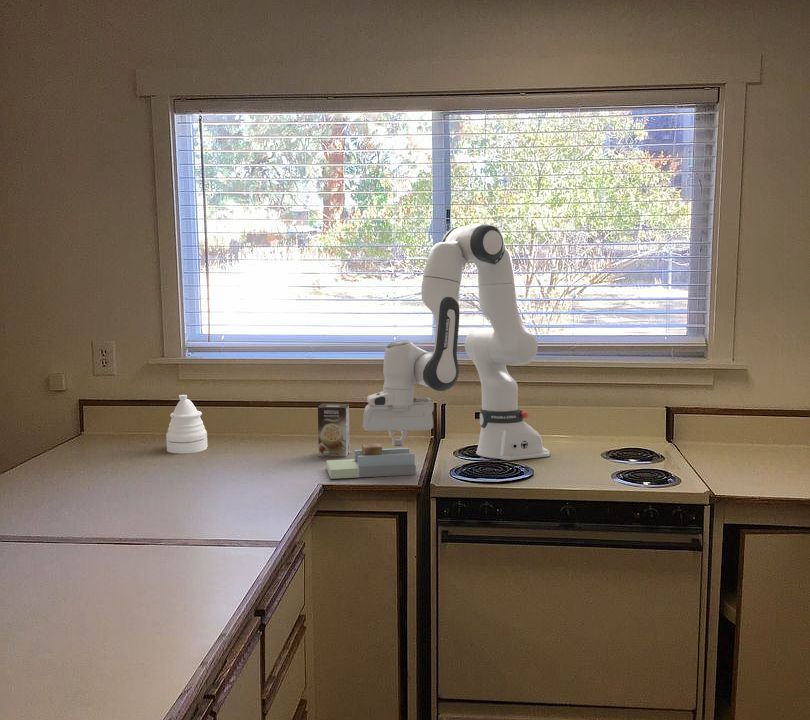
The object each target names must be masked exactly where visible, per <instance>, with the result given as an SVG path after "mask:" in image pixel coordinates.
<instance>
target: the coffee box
mask: <svg viewBox="0 0 810 720" xmlns="http://www.w3.org/2000/svg"><path fill="white" fill-rule="evenodd" d="M317 432H318V434H317V435H318V437H317V440H318V441H317V443H318V444H317V445H318V456H322V457H327V456H345V458H346V456H347V457H348V456H349V454H350V404H349V403H321V404H320V405H319V406H318V407H317ZM348 453H349V454H348Z"/></svg>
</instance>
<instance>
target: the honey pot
mask: <svg viewBox="0 0 810 720" xmlns="http://www.w3.org/2000/svg"><path fill="white" fill-rule="evenodd" d="M178 399H179V401H178V402H177V405H176V406H175V408H174V410H173V411H172V412H171V413H170V414H169V417H171V418H170V422H169V424H168V427H167V432H166V434H165V435H166V436H165V437H166V451H167V453H170V454H193V453H200V452H202V451H206V449H208V448H209V447H208V431H207V430H206V426H205V425H204V422H203V420H202V418H201V416H202V415H203V412H202V411H200V410H198V409H197V407H196V406H195V405H194V403H193V402H192V401H191V400H190V399H188V395H187V394H179V395H178ZM207 447H208V448H207Z"/></svg>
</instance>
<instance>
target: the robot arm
mask: <svg viewBox="0 0 810 720" xmlns="http://www.w3.org/2000/svg"><path fill="white" fill-rule="evenodd" d="M467 264H474V265H475V266H476V269H477V280H478V281H477V283H478V284H477V285H478V298H479V300H478V301H479V309H480V311H481V313H482V314H483V315H484V316H486V318H488V320H489V322H490V324H491V327H481V328H477V329H473V330H470V331H469V333H467V335H466V337H465V340H464V351H465V353H466V355H467V356H468V358H469V359H470V360H471V361H472V362H473V364H474V367H475V368H476V370H477V373H478V376H479V381H480V386H481V408H480V412H479V426H480V433H479V439H478V440H479V441H478V445H477V449H476V453H475V454H476V455H477V456H479V457H484V458H489V459H500V460H504V461H514V460H515V461H516V460H525V459H536V458H547V457H550V455H551V453H550V450H548V449H547V448H545V447H544V446H543V439H542V436H541V434H540V433H539V432H538V431H537V430H535V428H533V427H532V426H531V425H530V424H528V423H527V422H526V421H524V419H527V418H529V417H530V413H529V412H528V411H526V410H521V409H519V407H518V406H519V402H518V401H519V385H518V383H517V381H516V380H515V379H514V378H513V377H512V376H511V375H510V373H509V372H508V369H507V366H515V367H516V366H523V365H528V364H530V363H532V362H533V361H534V360H535V359H536V356H537V354H538V347H539V346H538V342H537V338H536V337H535V335H534V334H533V333H531V332H530V330H529V329H528V328H527V327H526V325H525V324H524V322H523V320H522V318H521V316H520V312H519V309H518V303H517V294H516V293H517V292H516V279H515V278H516V277H515V270H514V263H513V260H512V256H511V252H510V251H509V249H507V248H506V245H505V239H504V237H503V234H502V232H501V231H500V229H499V228H498V227H496V226H494V225H491V224H486V223H485V224H484V223H483V224H468V225H466V226H457V227H454V228H451V229H450V230H448V231H447V232H445V234H444V235H443V237H442V239H441V241H440V242H437V243H435V244H434V245H433V246H432V247H431V249H430V252H429V255H428V257H427V260H426V263H425V267H424V271H423V275H422V276H423V277H422V283H421V291H420V292H421V300H422V302H423V304H424V305H425V306H426V308H428V309H429V310H430V311H431V313H432V314H433V316H434V318H435V322H436V323H435V324H436V326H435V339H434V346H433V347H434V349H433V352H429V351H427V350H425V349H422V348H420V347H418V346H416V345H415V344H414V343H413V341H410V340H399V341H394V342H391V343H388V345H387V346H386V347H385V350H384V355H383V367H382V369H383V371H382V372H383V376H384V382H383V385H382V387H383V388H382V391H379V392H377V393H373V394H369V395H367V397H366V400H367V403H368V404H367V405H365V407H364V409H363V415H362V428H363V429H364V430H365V431H366V432H388V434H389V435H388V436H389V437H390V439H391V445H392V447H403V446H404V440H405V439H406V437H407V436H408V431H431V430H432V429H433V428H434V417H433V412H434V410H435V409H434V408H435V404H434V401H433V400H432V399H430V398H429V397H415V395H414V394H415V385H416V384H417V385H420V386H421V385H422V386H424V387H428V388H431V389H433V390H435V391H438V392H444V391H448V390H450V389H451V388H453V387H454V385H455V384H456V383H457V381H458V379H459V375H460V374H459V373H460V367H459V362H458V354H457V353H458V340H459V331H460V330H459V329H460V328H459V327H460V305H459V303H460V301H459V300H460V290H461V282H462V276H463V271H464V268H465V266H466V265H467ZM395 431H396V432H397V431H400V433H401V436H400V438H395V437H394V435H395V433H396V432H395Z"/></svg>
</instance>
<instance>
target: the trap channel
mask: <svg viewBox="0 0 810 720" xmlns="http://www.w3.org/2000/svg"><path fill="white" fill-rule="evenodd" d="M353 452H354V458H350V459H348V458H347V459H329V460H326V463H325V464H326V471H327V474H328V476H329V478H330V480H331V479H353V478H354V479H355V478H371V477H372V478H373V477H392V476H396V477H397V476H410V475H411V476H412V475H413V476H415V475H417V470H416V468H417V467H416V464H415V463H416V462H415V459H416V458H415V457H416V456H415V453H413V452H412V453H411V452H410V448H409V447H397V448H396V447H395V448H394V447H393V448H392V447H391V448H382V455H364V456H362V449H354V451H353Z"/></svg>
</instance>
